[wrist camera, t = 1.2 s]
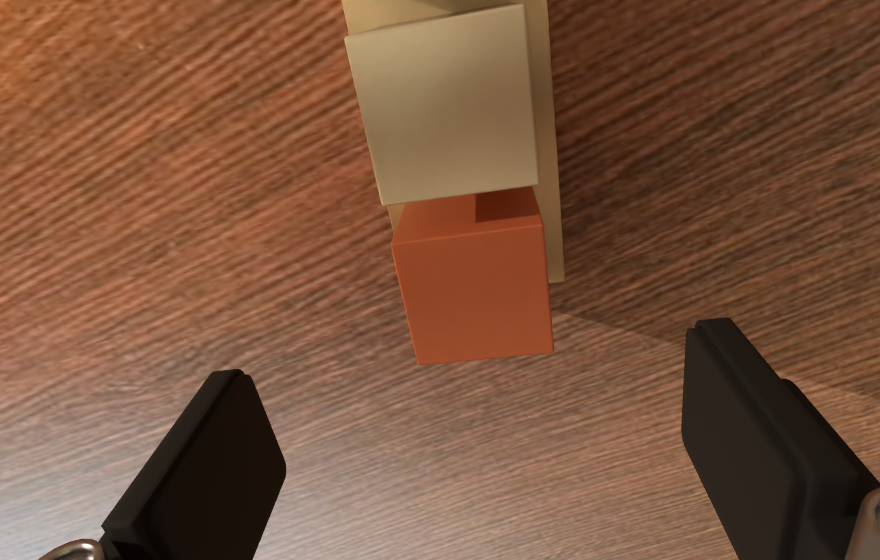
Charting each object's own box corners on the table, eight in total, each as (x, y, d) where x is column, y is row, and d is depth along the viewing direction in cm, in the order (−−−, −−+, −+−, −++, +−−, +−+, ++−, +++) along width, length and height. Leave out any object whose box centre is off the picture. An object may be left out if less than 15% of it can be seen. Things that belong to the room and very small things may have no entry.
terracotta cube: (410, 184, 18) (389, 243, 14) (527, 168, 18) (544, 224, 13) (431, 285, 20) (417, 366, 16) (537, 273, 20) (554, 353, 15)
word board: (303, -194, 14) (209, -296, 9) (528, -248, 13) (558, -394, 8) (409, 292, 21) (388, 382, 16) (563, 275, 20) (590, 364, 15)
